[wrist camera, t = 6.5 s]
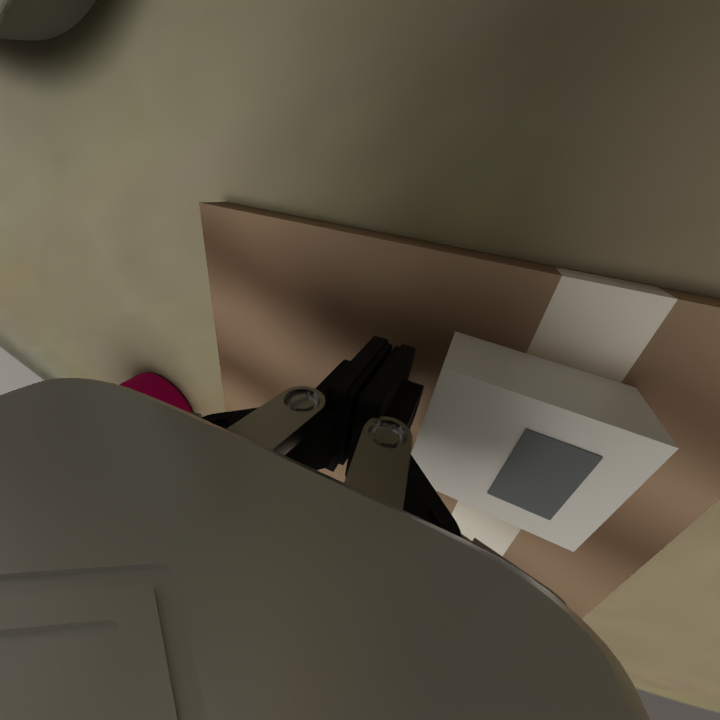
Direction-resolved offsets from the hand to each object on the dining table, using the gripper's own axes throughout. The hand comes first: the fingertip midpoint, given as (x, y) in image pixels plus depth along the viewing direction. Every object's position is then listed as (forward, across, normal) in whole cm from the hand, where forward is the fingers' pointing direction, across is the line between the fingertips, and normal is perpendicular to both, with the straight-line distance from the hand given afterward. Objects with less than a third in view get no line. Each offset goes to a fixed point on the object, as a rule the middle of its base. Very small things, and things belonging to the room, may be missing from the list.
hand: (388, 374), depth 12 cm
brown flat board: (+3, -1, +4) cm, 5 cm away
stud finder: (+1, -5, +1) cm, 5 cm away
